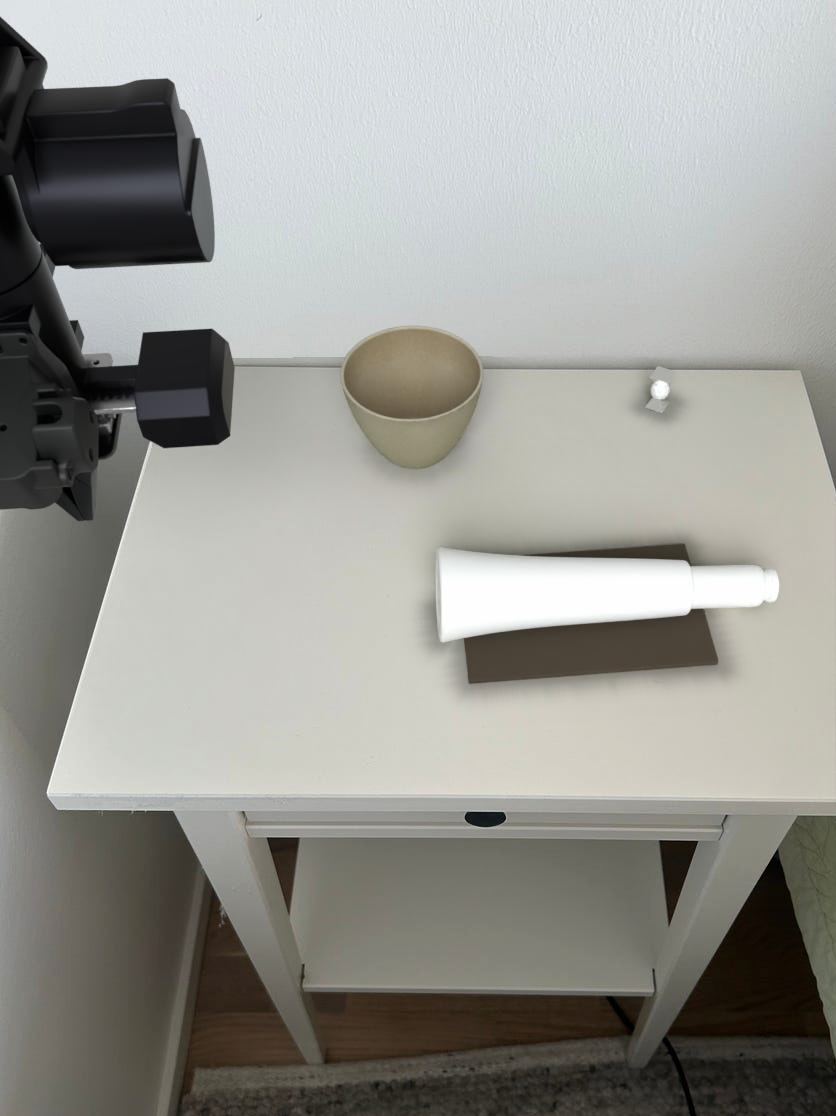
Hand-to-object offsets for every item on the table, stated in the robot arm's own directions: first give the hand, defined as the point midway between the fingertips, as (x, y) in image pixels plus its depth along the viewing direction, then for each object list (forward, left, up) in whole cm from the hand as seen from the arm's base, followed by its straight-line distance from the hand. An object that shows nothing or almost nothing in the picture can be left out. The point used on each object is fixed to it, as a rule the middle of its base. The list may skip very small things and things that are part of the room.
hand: (87, 515), depth 55 cm
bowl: (-5, +24, -12) cm, 28 cm away
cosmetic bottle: (+10, +16, -9) cm, 21 cm away
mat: (+14, +25, -12) cm, 31 cm away
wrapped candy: (+2, +42, -12) cm, 44 cm away
